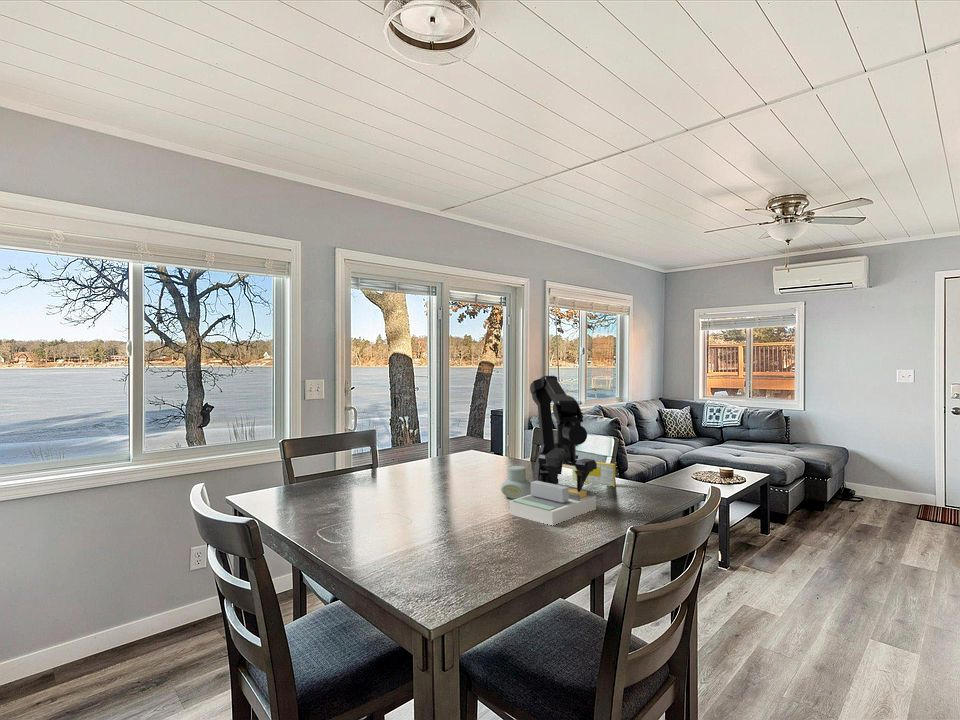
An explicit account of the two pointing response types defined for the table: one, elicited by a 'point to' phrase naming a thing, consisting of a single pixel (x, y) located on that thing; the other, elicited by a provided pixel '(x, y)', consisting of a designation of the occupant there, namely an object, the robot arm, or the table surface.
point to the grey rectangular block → (550, 491)
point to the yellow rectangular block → (575, 491)
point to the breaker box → (552, 507)
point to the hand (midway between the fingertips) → (566, 489)
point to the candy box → (599, 474)
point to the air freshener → (516, 483)
